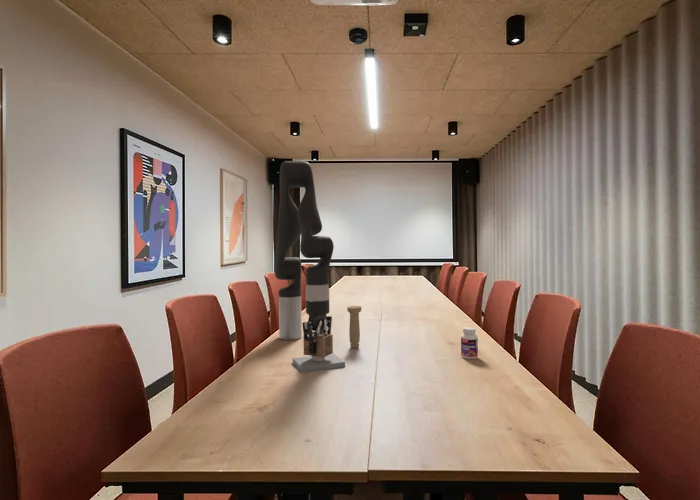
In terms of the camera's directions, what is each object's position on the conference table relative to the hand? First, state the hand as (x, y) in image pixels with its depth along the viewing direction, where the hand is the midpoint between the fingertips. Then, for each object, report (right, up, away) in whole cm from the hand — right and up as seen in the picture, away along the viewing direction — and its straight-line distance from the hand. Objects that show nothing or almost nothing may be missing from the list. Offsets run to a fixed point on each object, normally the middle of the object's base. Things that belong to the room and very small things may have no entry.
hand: (318, 351), depth 130 cm
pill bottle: (+50, -4, +7) cm, 51 cm away
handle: (+12, -4, +22) cm, 25 cm away
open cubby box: (0, -1, 0) cm, 1 cm away
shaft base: (0, -4, 0) cm, 4 cm away
